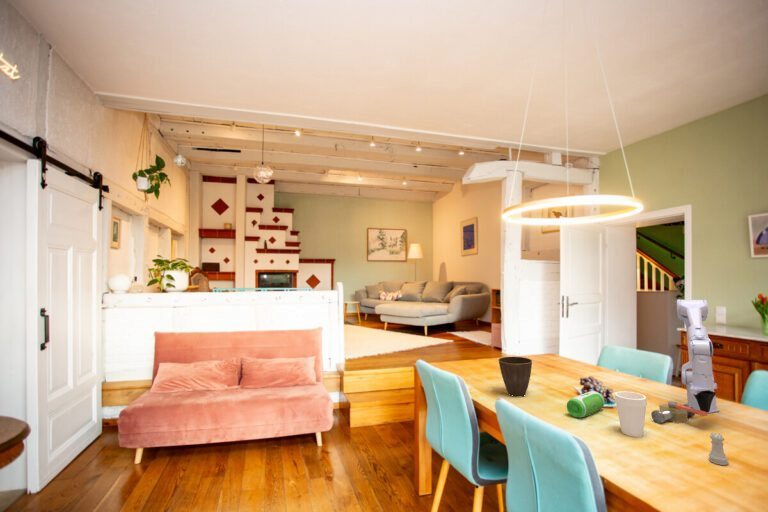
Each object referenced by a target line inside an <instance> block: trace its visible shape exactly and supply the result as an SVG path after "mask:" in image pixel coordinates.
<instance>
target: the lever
mask: <svg viewBox="0 0 768 512" xmlns="http://www.w3.org/2000/svg"><path fill="white" fill-rule="evenodd" d="M667 402H668V403H667V404H668V405H669V406H671V407H676V408H680V409H683V410H686V411H689V412H693V413H694V414H695V415H697V416H698V415H699V416H700V417H701V416H702V417H706V416H708V413H707V412H704V411H701V410H696V409H693V408H689V407H686V406H683V405H684V404H683V405H682V404H679V403H677V402H676V401H667Z"/></svg>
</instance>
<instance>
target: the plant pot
mask: <svg viewBox="0 0 768 512" xmlns="http://www.w3.org/2000/svg"><path fill="white" fill-rule="evenodd" d="M498 364H499V369H500V374H501V377H502V380H503V384H504V386H505V388H506V389H505V390H506V391H507V394H508V395H509V394H510V395H509V396H511V395H513V396H512V397H514V396H522V397H525V396H526V393H527V390H528V388H529V384H530V380H531V375H532V365H533V361H532V359H530V358H528V357H523V356H505V357H499V358H498ZM524 395H525V396H524Z"/></svg>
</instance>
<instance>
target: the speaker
mask: <svg viewBox="0 0 768 512" xmlns="http://www.w3.org/2000/svg"><path fill="white" fill-rule="evenodd" d="M605 403H606V400H605V397H604V396H603V395H602V394H601V393H600V392H599V391H594V390H592V391H590V390H589V391H588V392H584V393H581V394H578V395H577V396H574V397H572V398H570V399H569V400H568V401H567V403H566V409H567V412H568V413H569V414H570V415H571V416H573V417H575V418H583V417H588V416H590V415H593V414H595V413H596V412H597V411H600V410H602V409H603V407H604V406H605Z"/></svg>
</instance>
